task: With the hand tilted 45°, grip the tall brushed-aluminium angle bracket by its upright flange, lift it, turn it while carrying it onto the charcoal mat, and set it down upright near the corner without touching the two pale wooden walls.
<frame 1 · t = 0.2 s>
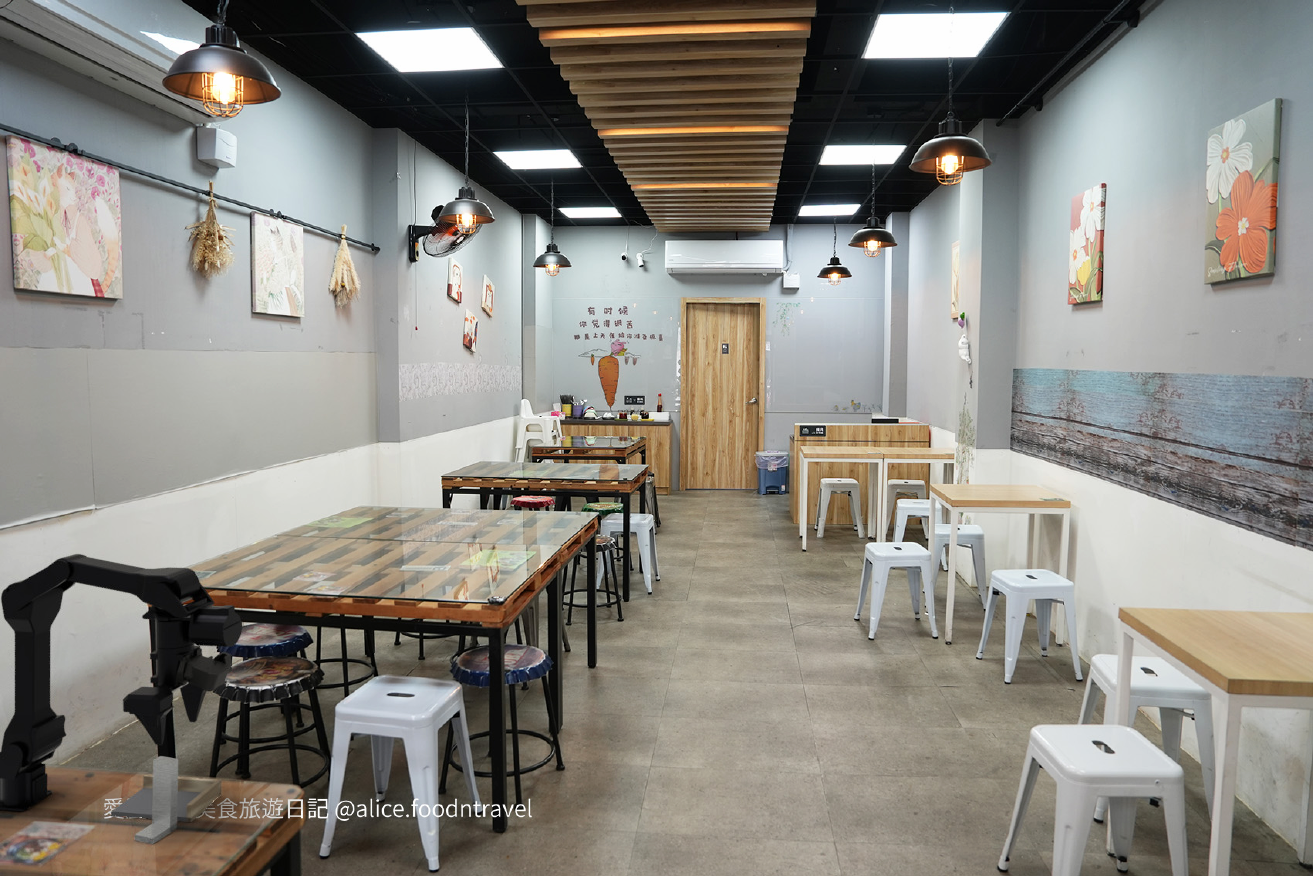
hand: (176, 732, 141), 14 cm above the table, tool pointing down, fingers open, 9 cm apart
aluminium bracket: (164, 829, 138), on the table
wooden corner walls: (167, 805, 145), resting on charcoal mat
charcoal mat: (167, 805, 145), on the table
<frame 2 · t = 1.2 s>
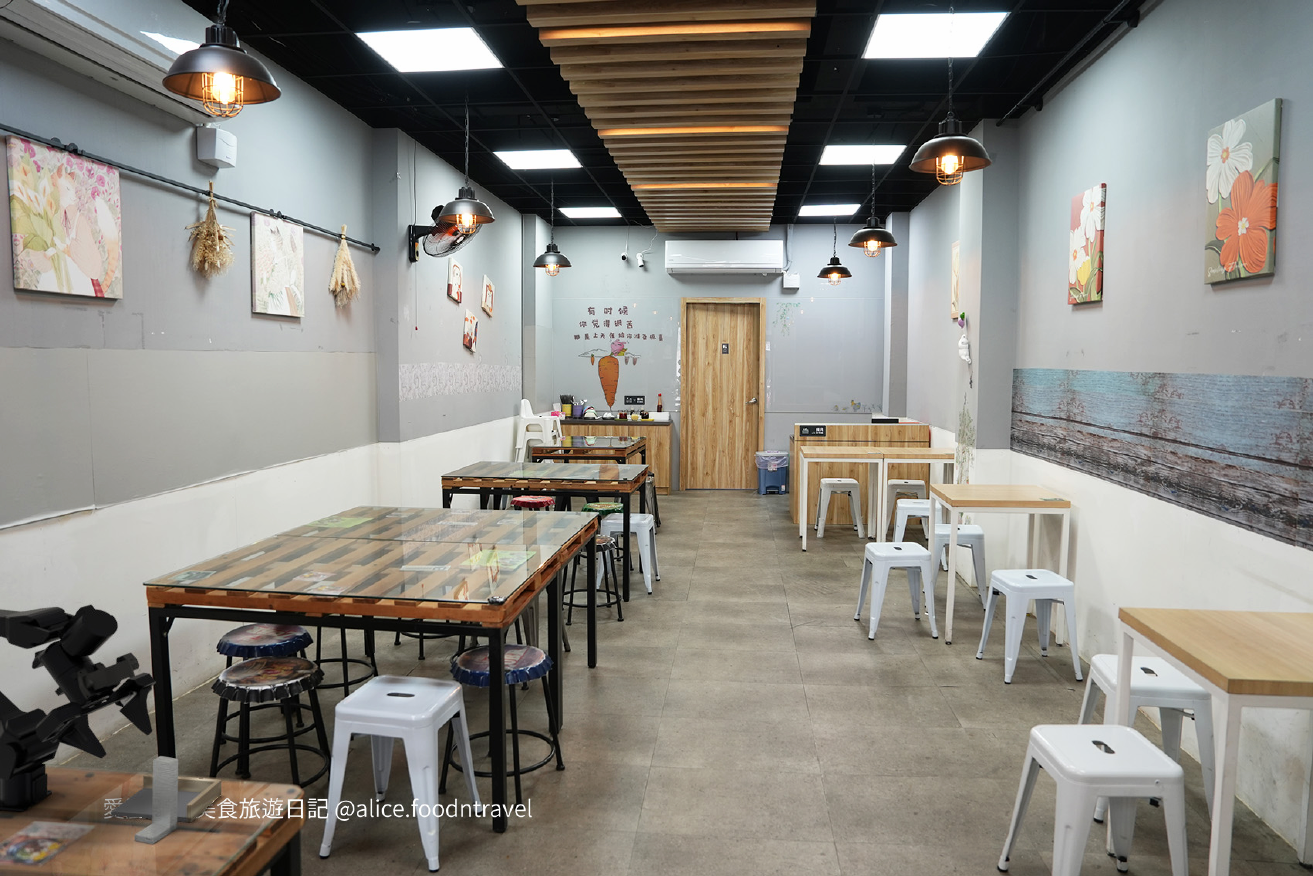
hand: (127, 744, 138), 13 cm above the table, tool tilted 45°, fingers open, 9 cm apart
nothing on the table moved.
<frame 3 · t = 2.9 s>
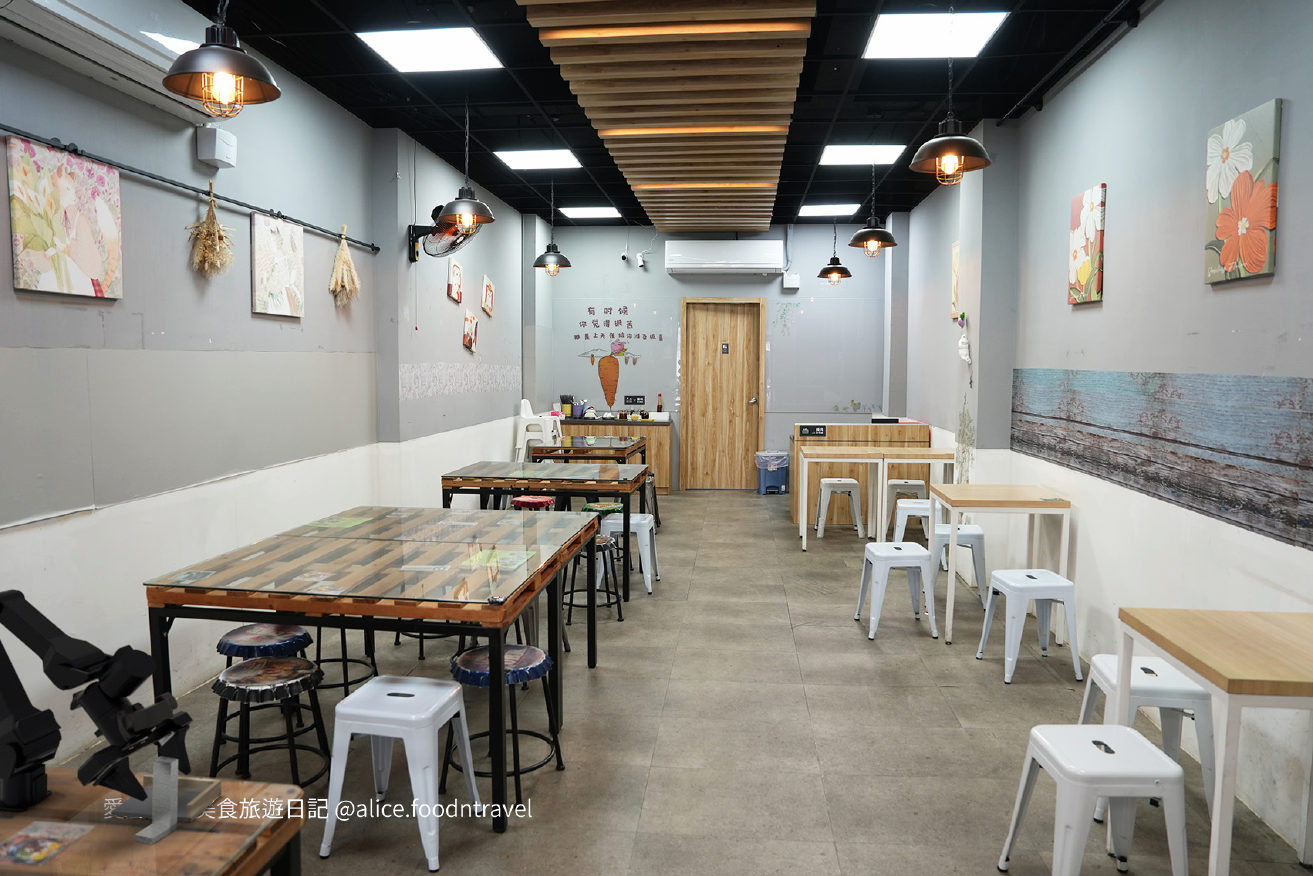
hand: (167, 786, 137), 8 cm above the table, tool tilted 45°, fingers open, 9 cm apart
nothing on the table moved.
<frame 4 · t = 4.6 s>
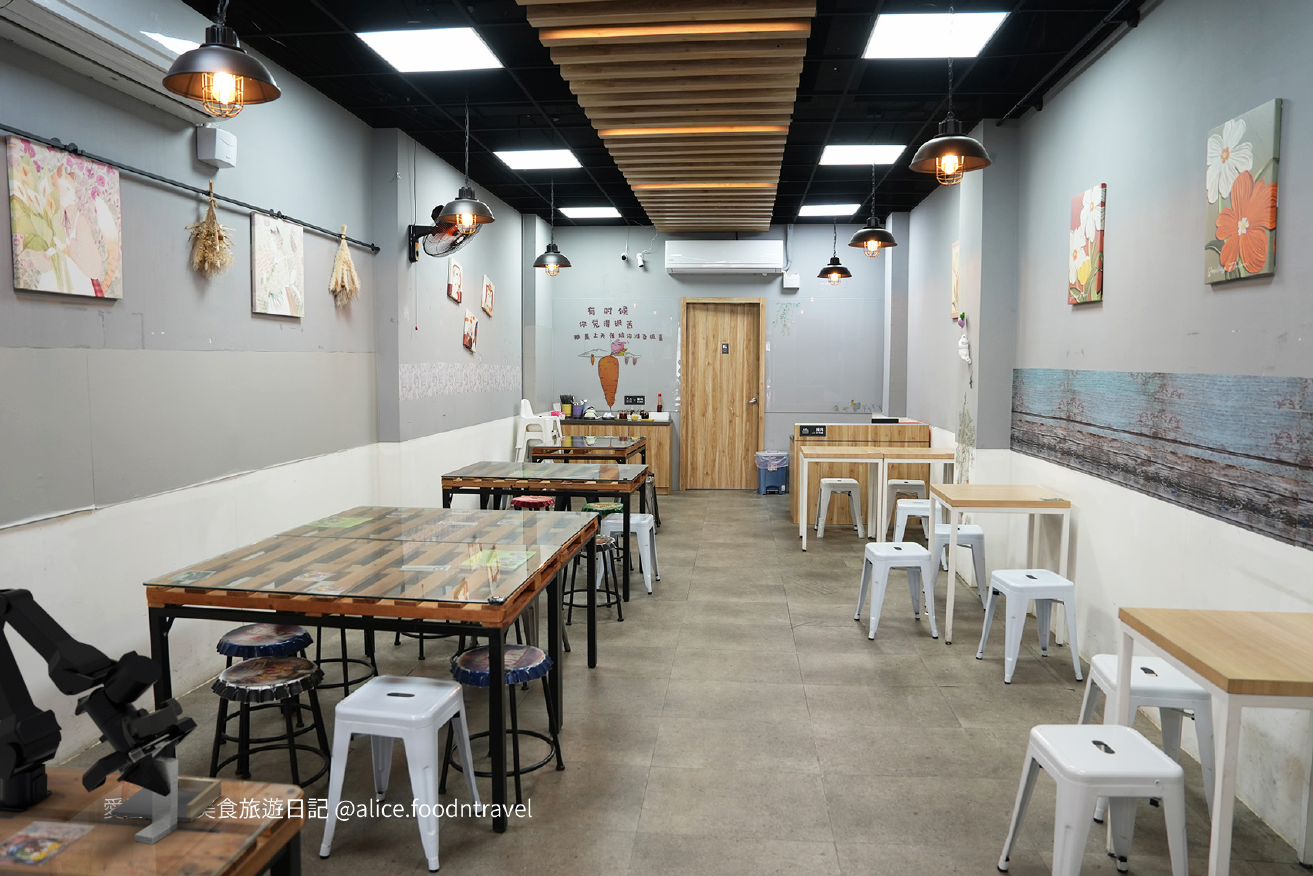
hand: (172, 792, 137), 7 cm above the table, tool tilted 45°, fingers closed on aluminium bracket
aluminium bracket: (164, 829, 138), on the table, touching gripper
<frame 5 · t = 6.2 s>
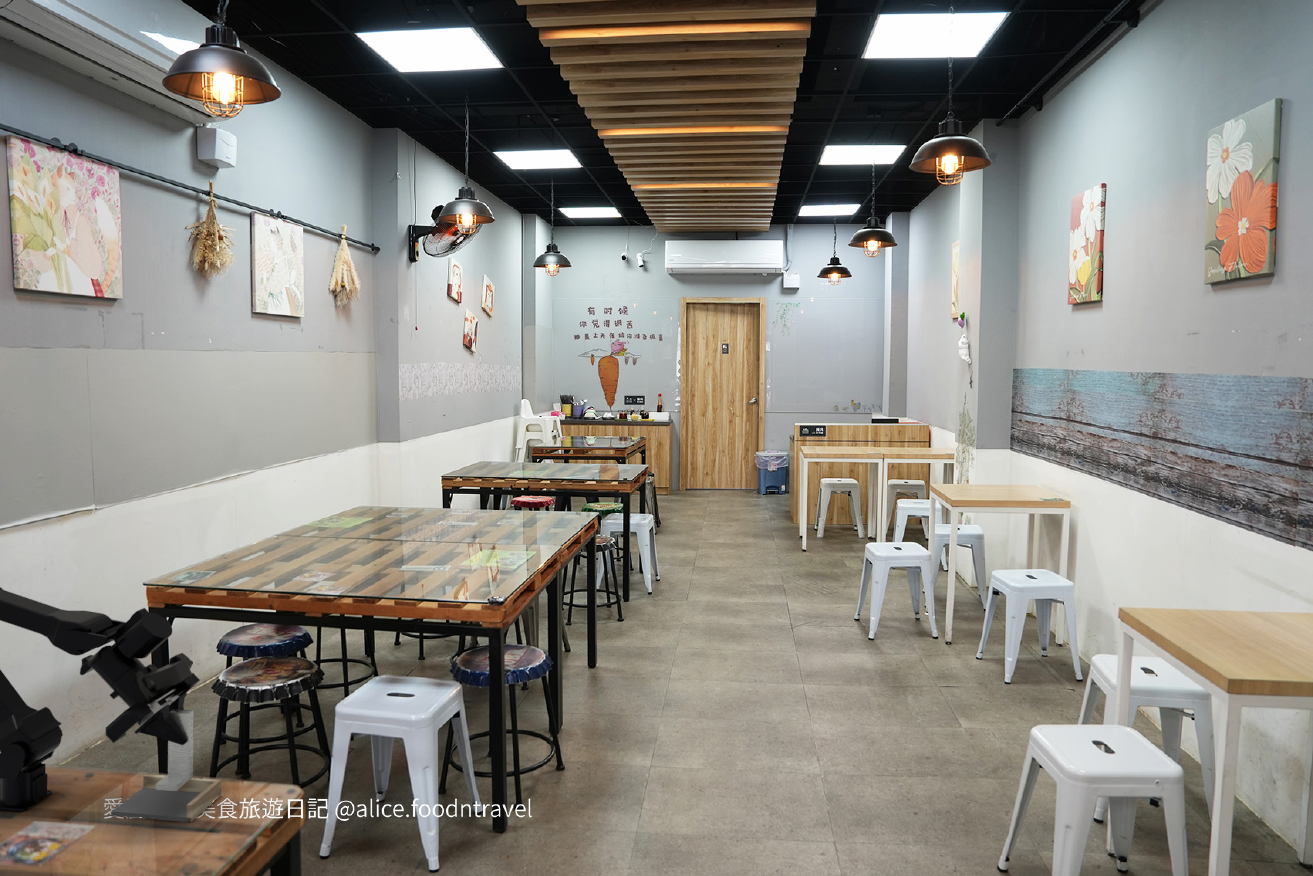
hand: (188, 740, 143), 12 cm above the table, tool tilted 45°, fingers closed on aluminium bracket
aluminium bracket: (180, 778, 143), point 6 cm above the table, touching gripper
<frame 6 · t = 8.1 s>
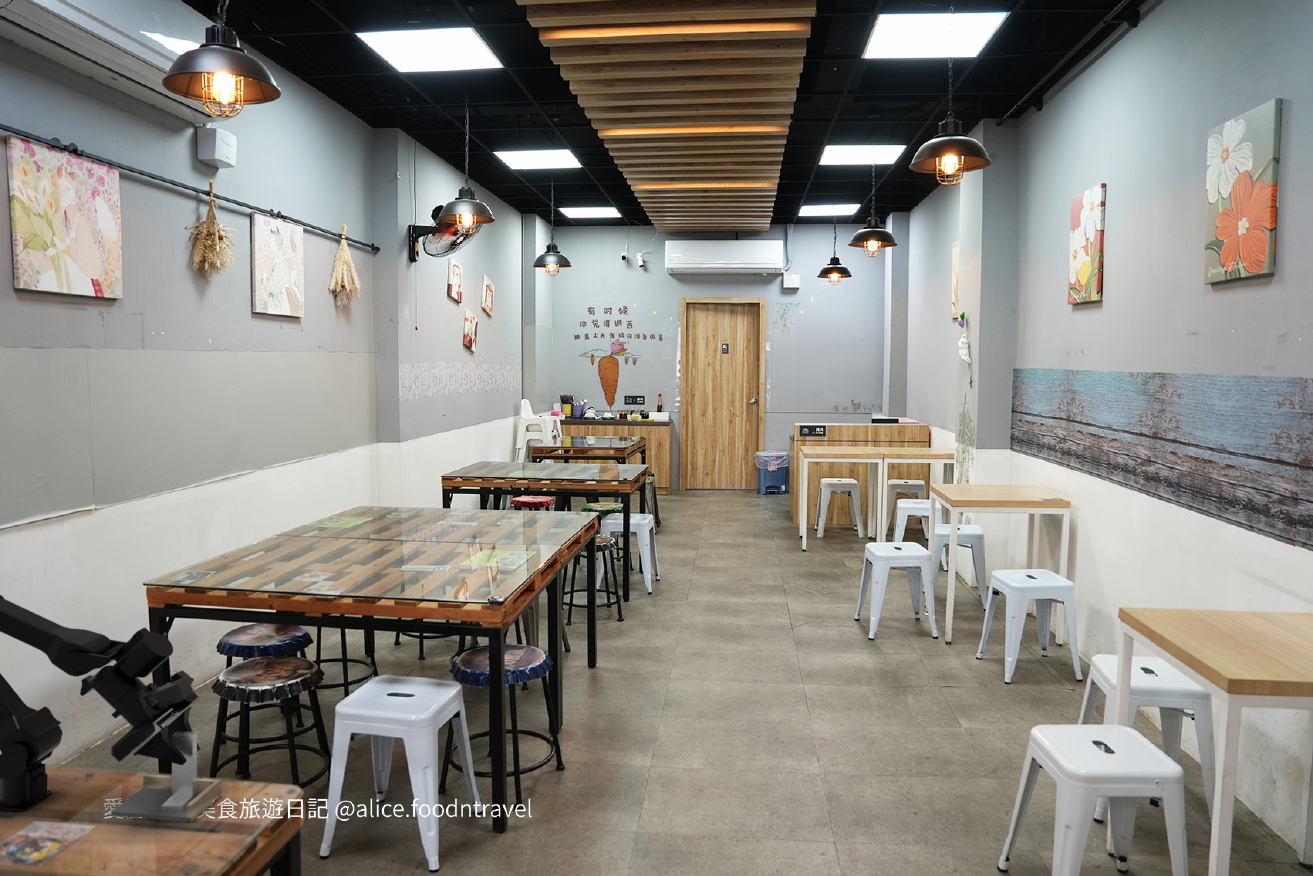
hand: (191, 757, 145), 9 cm above the table, tool tilted 45°, fingers open, 4 cm apart
aluminium bracket: (184, 799, 146), point 1 cm above the table, touching charcoal mat
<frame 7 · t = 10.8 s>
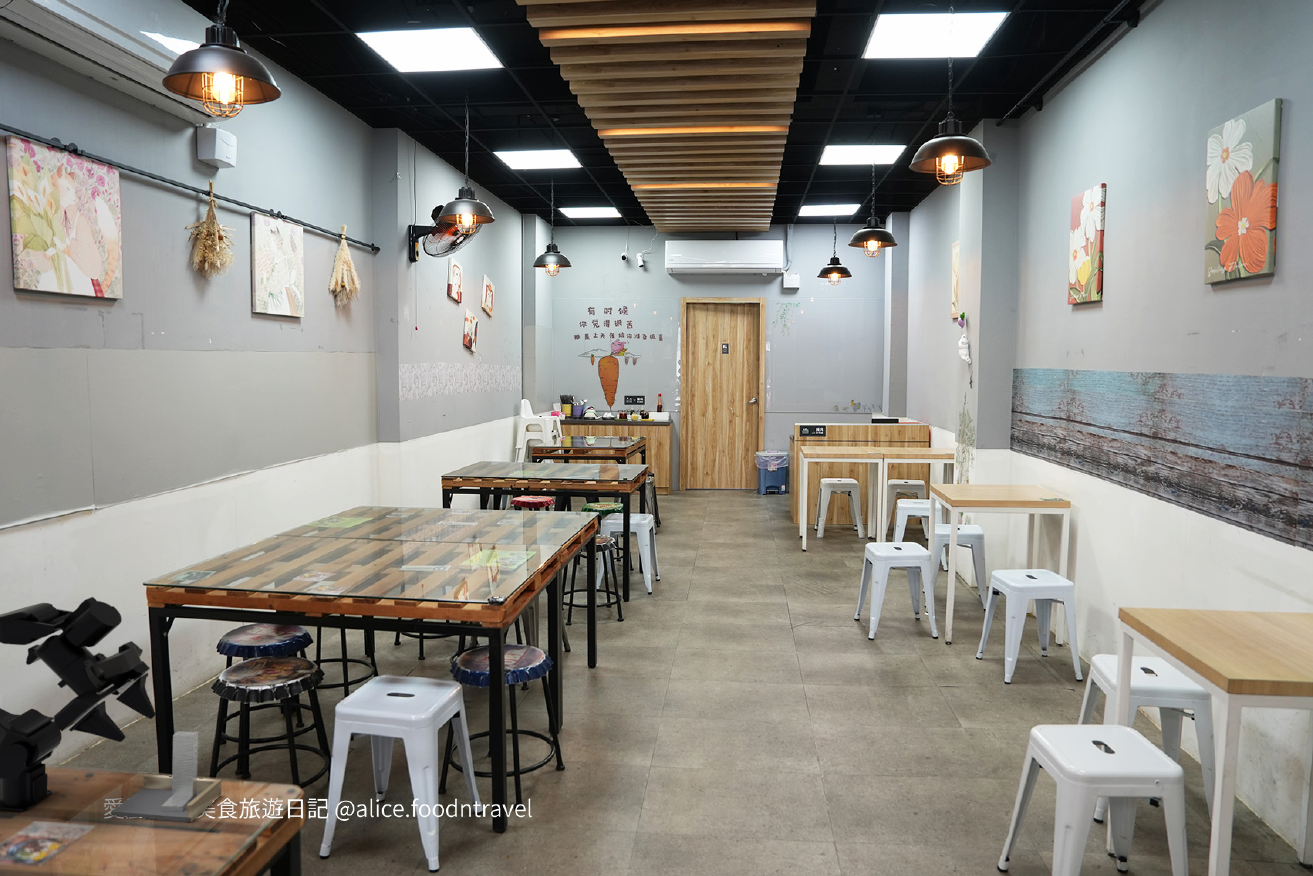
hand: (138, 728, 144), 14 cm above the table, tool tilted 45°, fingers open, 9 cm apart
nothing on the table moved.
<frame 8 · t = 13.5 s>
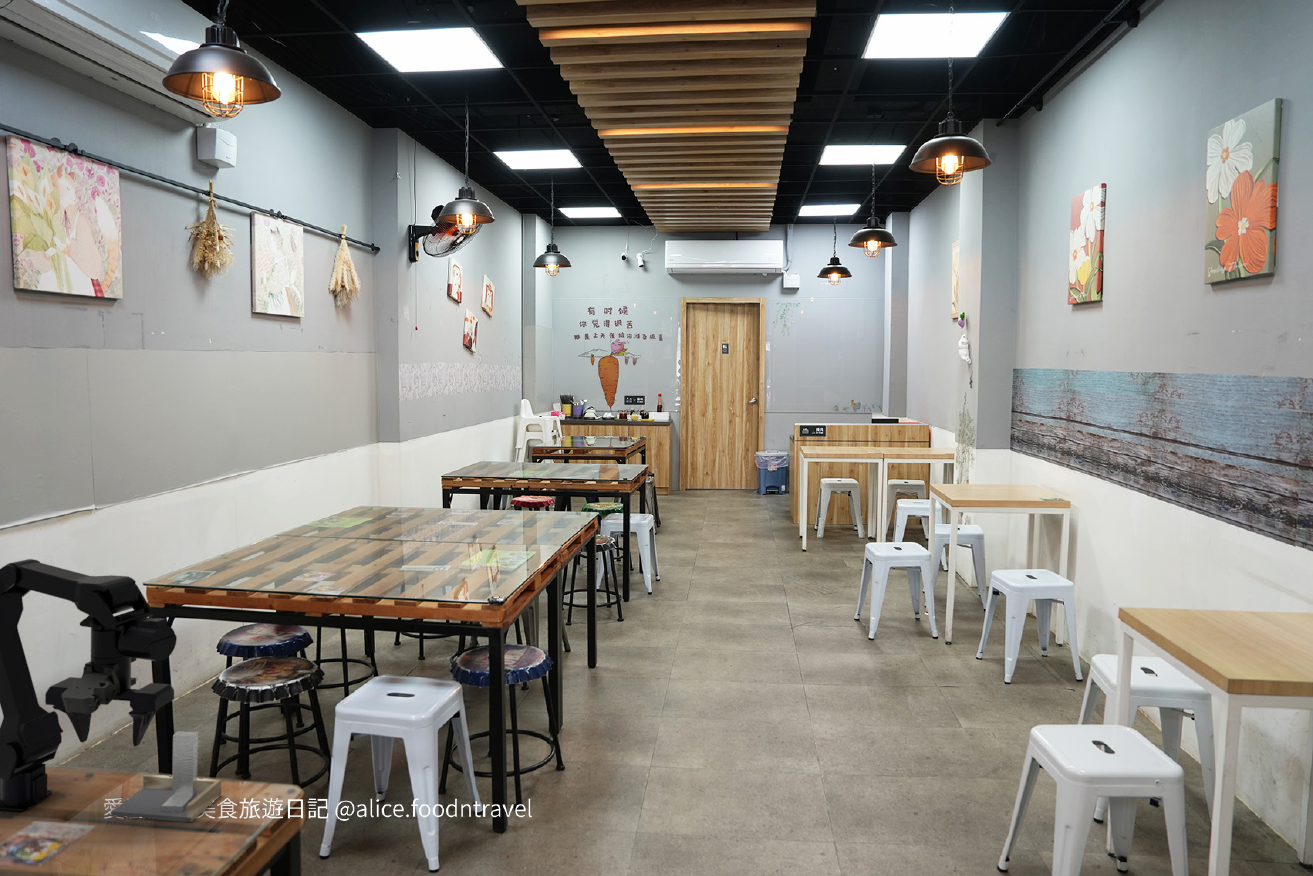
hand: (110, 743, 139), 13 cm above the table, tool pointing down, fingers open, 9 cm apart
nothing on the table moved.
at the end: aluminium bracket 0.4 cm from the target spot, point 0.8 cm above the table; aluminium bracket tilted 0°; aluminium bracket touching charcoal mat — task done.
